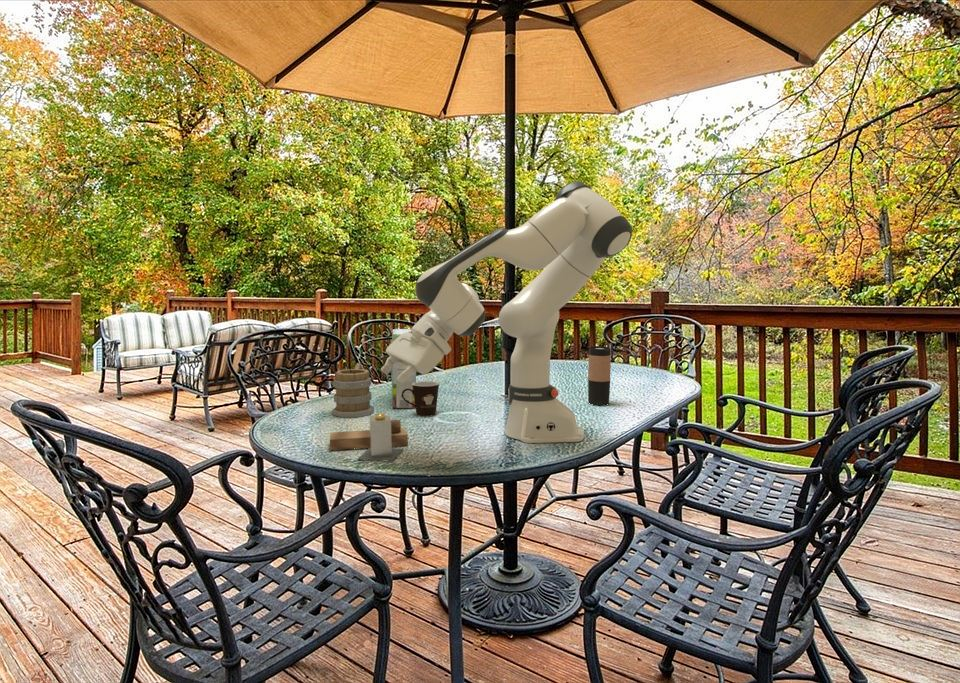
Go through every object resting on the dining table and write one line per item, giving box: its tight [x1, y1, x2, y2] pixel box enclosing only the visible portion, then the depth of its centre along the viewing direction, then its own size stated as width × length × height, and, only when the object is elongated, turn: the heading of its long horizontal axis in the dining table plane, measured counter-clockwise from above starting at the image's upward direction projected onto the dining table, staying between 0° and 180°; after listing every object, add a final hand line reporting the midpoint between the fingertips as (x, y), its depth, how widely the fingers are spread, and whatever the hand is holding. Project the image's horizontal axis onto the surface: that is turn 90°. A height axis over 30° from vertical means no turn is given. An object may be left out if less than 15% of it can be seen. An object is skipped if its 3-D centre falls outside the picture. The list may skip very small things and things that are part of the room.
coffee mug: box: [402, 380, 440, 417], centre depth 183 cm, size 12×9×10 cm
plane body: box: [329, 419, 409, 451], centre depth 149 cm, size 20×7×6 cm, turn 103°
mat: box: [357, 447, 404, 462], centre depth 141 cm, size 9×9×1 cm
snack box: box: [391, 328, 417, 409], centre depth 199 cm, size 22×9×26 cm, turn 9°
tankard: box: [331, 362, 375, 419], centre depth 187 cm, size 20×13×15 cm, turn 179°
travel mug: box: [587, 345, 612, 406], centre depth 196 cm, size 8×8×20 cm
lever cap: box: [369, 413, 393, 457], centre depth 140 cm, size 5×5×10 cm
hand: (390, 376), depth 137 cm, fingers open, 8 cm apart
